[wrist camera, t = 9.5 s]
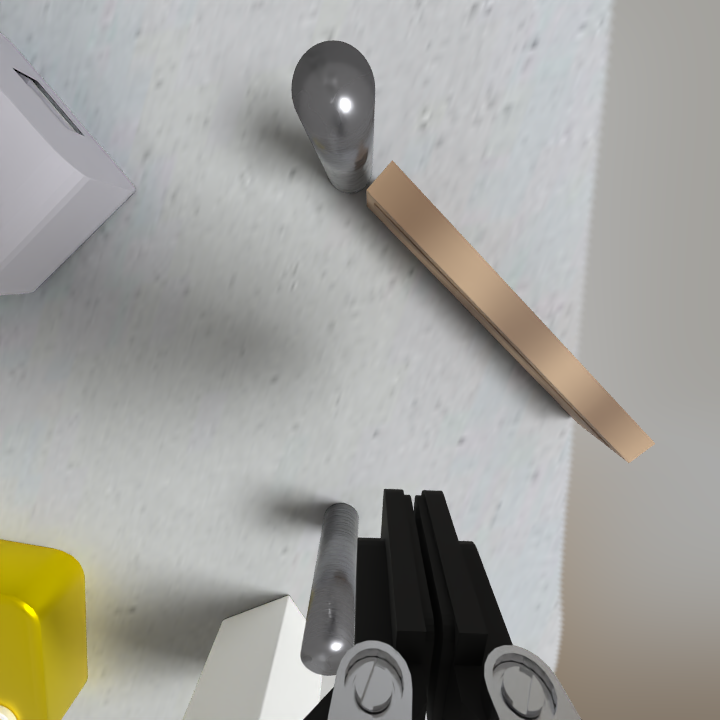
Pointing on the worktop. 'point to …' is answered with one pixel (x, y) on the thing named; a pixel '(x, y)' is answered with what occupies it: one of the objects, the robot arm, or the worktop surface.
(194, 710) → the milk
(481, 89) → the worktop surface
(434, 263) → the gate
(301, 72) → the hinge post
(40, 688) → the element tile
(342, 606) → the latch post
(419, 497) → the robot arm
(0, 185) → the charger
